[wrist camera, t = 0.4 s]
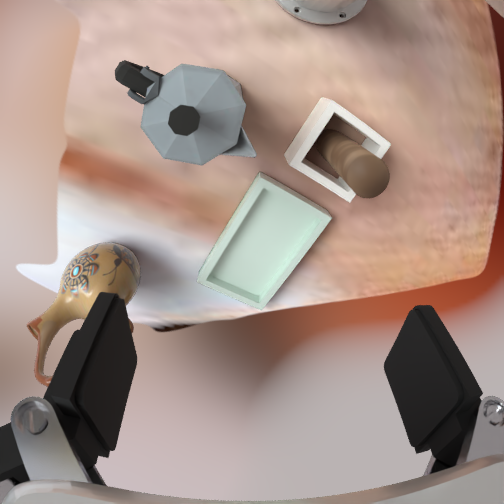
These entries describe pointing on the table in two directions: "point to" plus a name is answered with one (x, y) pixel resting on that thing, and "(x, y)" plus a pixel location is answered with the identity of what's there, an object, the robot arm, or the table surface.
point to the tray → (262, 242)
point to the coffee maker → (189, 111)
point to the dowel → (354, 163)
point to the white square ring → (312, 131)
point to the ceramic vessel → (85, 292)
